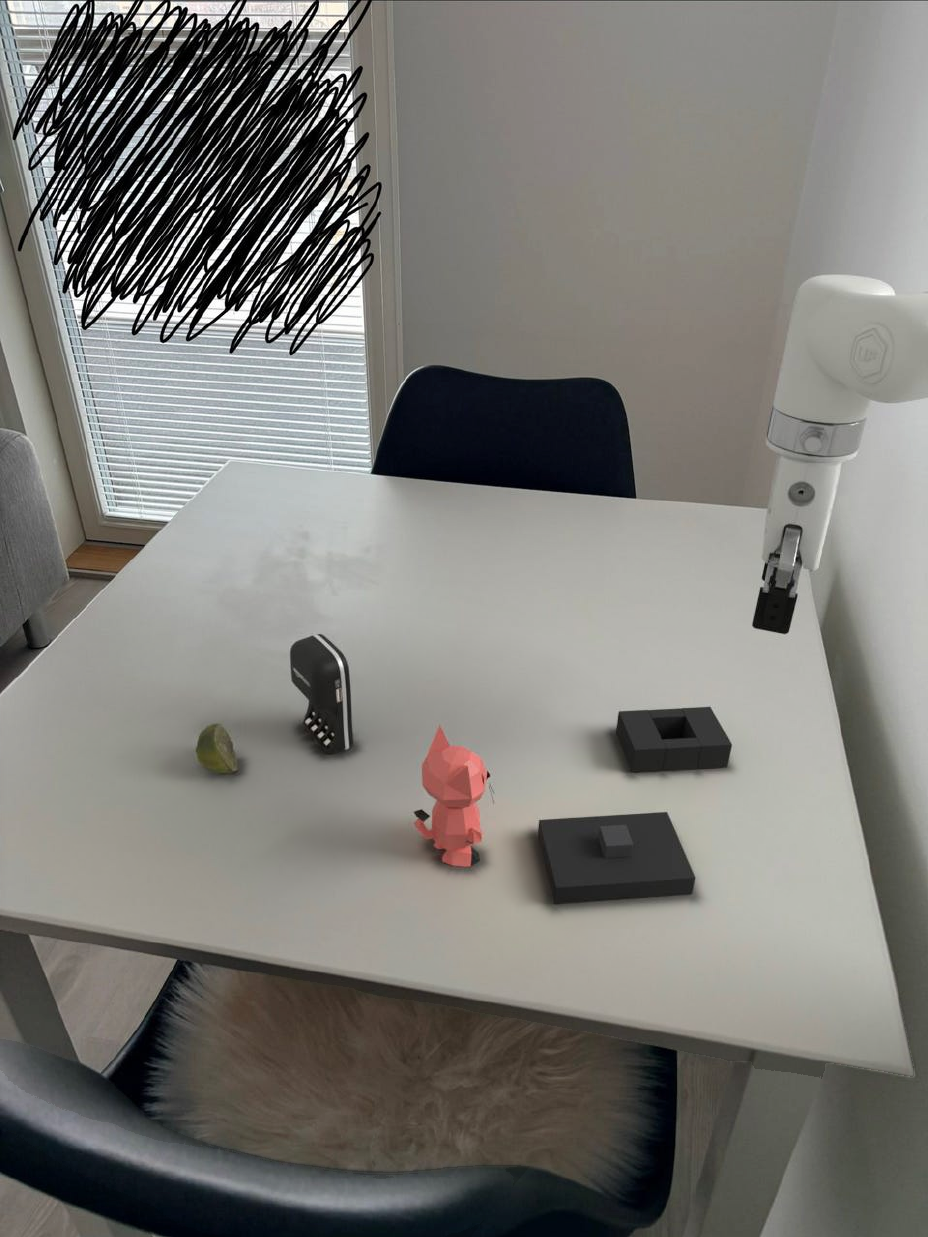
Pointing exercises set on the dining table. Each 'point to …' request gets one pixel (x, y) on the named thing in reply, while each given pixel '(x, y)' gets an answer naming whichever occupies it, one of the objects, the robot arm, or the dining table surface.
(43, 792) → the dining table surface
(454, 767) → the cat figurine
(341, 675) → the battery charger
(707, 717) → the black socket block
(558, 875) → the base pad
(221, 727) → the lime
